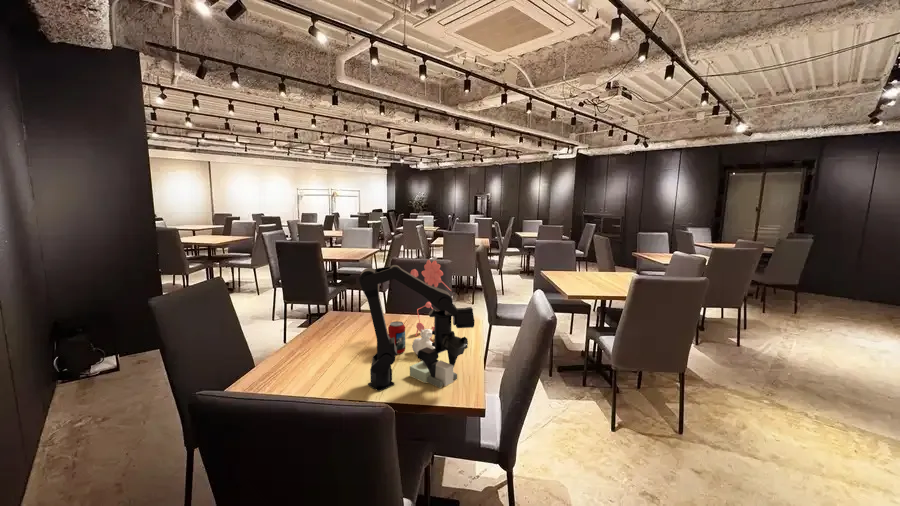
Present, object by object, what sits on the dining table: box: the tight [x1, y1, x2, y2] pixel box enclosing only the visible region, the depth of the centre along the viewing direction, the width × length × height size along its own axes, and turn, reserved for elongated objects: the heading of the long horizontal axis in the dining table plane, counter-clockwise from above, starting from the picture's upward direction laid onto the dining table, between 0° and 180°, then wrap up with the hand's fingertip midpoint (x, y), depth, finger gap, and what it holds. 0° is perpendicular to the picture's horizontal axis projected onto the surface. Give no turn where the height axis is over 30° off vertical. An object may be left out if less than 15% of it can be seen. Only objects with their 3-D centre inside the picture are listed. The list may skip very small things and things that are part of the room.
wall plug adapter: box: [409, 360, 458, 389], centre depth 131 cm, size 10×14×6 cm
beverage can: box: [387, 320, 406, 355], centre depth 153 cm, size 7×7×12 cm
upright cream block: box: [435, 359, 454, 387], centre depth 128 cm, size 4×6×6 cm, turn 48°
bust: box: [411, 328, 435, 356], centre depth 151 cm, size 12×8×11 cm
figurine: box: [409, 259, 452, 342], centre depth 171 cm, size 15×26×35 cm, turn 48°
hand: (442, 372), depth 128 cm, fingers open, 9 cm apart
